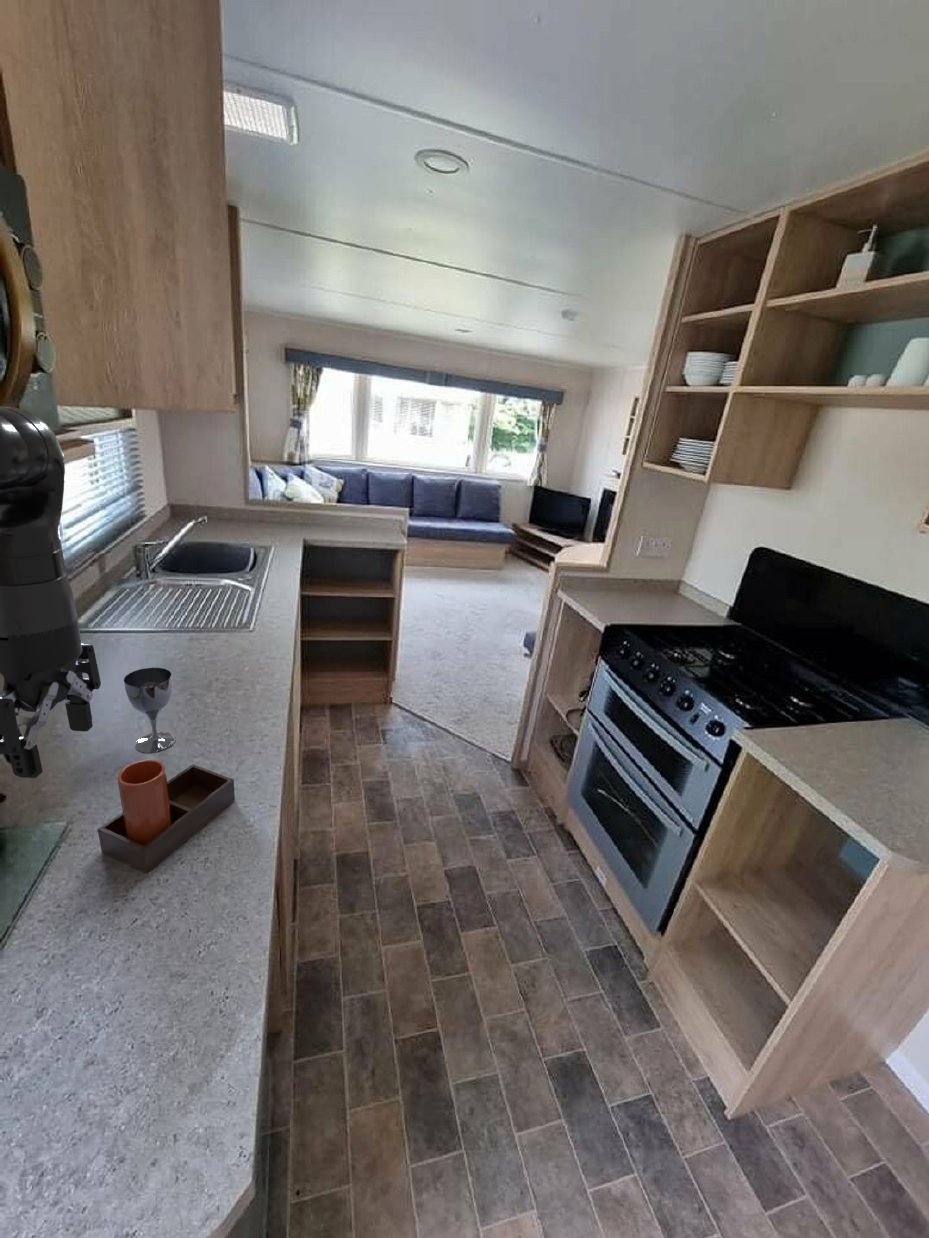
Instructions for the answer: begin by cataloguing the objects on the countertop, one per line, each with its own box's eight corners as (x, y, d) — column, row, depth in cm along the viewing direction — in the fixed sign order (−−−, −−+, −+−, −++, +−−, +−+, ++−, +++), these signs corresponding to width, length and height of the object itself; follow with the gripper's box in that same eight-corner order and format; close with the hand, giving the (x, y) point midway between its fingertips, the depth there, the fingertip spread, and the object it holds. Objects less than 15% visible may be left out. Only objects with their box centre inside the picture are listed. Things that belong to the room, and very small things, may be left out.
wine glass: (168, 726, 110) (161, 663, 105) (184, 743, 105) (178, 678, 100) (126, 740, 104) (117, 674, 99) (141, 759, 100) (132, 691, 94)
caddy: (101, 852, 79) (97, 829, 77) (194, 784, 95) (192, 763, 93) (146, 873, 76) (143, 850, 75) (235, 800, 92) (233, 779, 91)
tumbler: (119, 845, 80) (107, 777, 75) (153, 820, 85) (144, 755, 80) (148, 859, 78) (138, 790, 73) (181, 833, 83) (174, 766, 79)
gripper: (41, 592, 58) (64, 715, 64) (-75, 643, 45) (-32, 792, 51) (110, 598, 59) (127, 719, 65) (16, 649, 46) (48, 796, 52)
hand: (57, 751), depth 58 cm, fingers open, 8 cm apart
